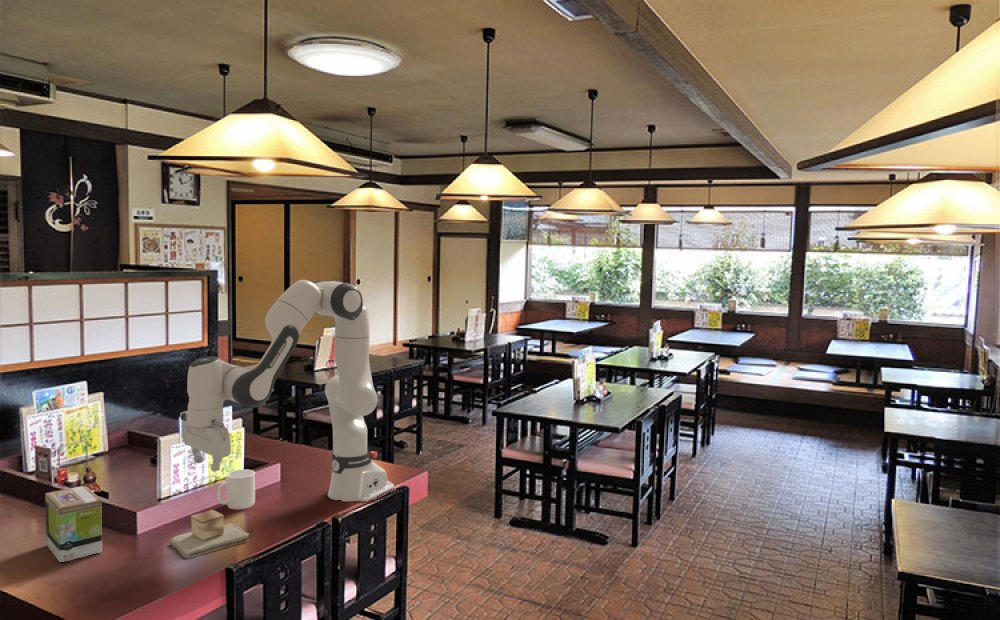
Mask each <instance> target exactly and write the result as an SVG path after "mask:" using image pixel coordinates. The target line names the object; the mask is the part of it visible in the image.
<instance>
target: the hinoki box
mask: <svg viewBox="0 0 1000 620" xmlns="http://www.w3.org/2000/svg"><path fill="white" fill-rule="evenodd" d="M224 518H225V515H224V514H222V513H220V512H218V511H216V510H214V509H210V510H207V511H203V512H199V513H196V514H193V515H190V521H191V532H192V534H193V535H194V536H196V537H198V538H200V539H201V540H205V539H208V538H211V537H214V536H217V535H220V534H223V533H224V525H225V524H224V523H225V522H224V520H225V519H224Z"/></svg>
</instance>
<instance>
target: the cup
mask: <svg viewBox="0 0 1000 620" xmlns="http://www.w3.org/2000/svg"><path fill="white" fill-rule="evenodd" d="M225 486H226V500H225V499H224V500H223V499H222V497H221V492H222V489H223V487H225ZM216 499H217V502H218V503H219V504H221V505H227V507H228V509H230V510H235V511H237V510H246V509H249V508H251V507H253V506H254V505H255V502H256V472H255V470H252V469H247V468H246V469H242V468H241V469H235V470H232V471H229V472H228V473H226V481H222V482H221V483H219V485H218V486H217V490H216Z"/></svg>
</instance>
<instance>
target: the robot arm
mask: <svg viewBox="0 0 1000 620" xmlns="http://www.w3.org/2000/svg"><path fill="white" fill-rule="evenodd" d="M363 300H364V299H363V294H362V293H361V291H360V289H359V288H358V287H356V286H355V285H354V284H351V283H349V282H341V281H336V280H331V281H322V280H318V281H313V282H312V281H311V280H307V279H299V280H297V281H295V282H294V283H293V284H291V285H290V286H289V287H288V288H287V289H286V290H285V291H284V292H283V293H282V294H281V295H280V296H279V297H278V298H277V299H276V300H275V302H274V303H273V304H272V306H271V307H270V308H269V309H268V311H267V314H266V316H265V318H264V323H265V327H266V330H267V332H268V333H269V335H270V336H271V342H270V344H269V346H268V348H267V350H266V351H265V353H264V354H263V356H262V357H261V359H260V360H259V361H258V363H257V365H255V366H254V367H252V368H247V367H244V366H241V365H236V364H231V363H229V362H226V361H225V360H222V359H220V357H217V356H203V357H200V358H197V359H195V360H194V361H192V362H191V363H190V364H189V367H188V371H187V383H186V384H187V388H186V391H187V394H188V404H187V410H185V411H182V412H180V413H179V418H180V420H181V421H182V422H181V435H182V436H181V437H182V442H183V443H184V445H186V446H188V447H191V448H190V449H191V453H192V456H193V462H194V463H195V464H202V463H203V459H204V457H203V456H202V453H201V452H203V453H205V454H207V455H210V456H211V458H212V460H213V461H212V463H210V467H211V468H210V470H211V471H213V472H218V471H220V470H221V464H222V460H223V458H226V457H230V455H231V453H232V448H231V446H232V445H231V436H230V432H229V429H228V428H227V427H226V426H225V424H224V403H225V401H227V400H228V401H229V400H230V401H232V402H234V403H237V404H240V406H243V407H246V408H248V409H254V408H258V407H261V406H262V405H264V404H265V403H266V402H267V401H268V400H269V398H270V397H271V395H272V391H273V389H274V386H275V383H276V380H277V378H278V376H279V375H280V373H281V371H282V370H283V368H284V367H285V365H286V363H287V362H288V360H289V358H290V357H291V355H292V354H293V352H294V350H295V348H296V347H297V344H298V342H299V340H300V335H301V334H302V331H303V329H304V328H305V326H306V325H307V324H308V323H309V322H310V321H311V319H312V317H313V316H314V315H320V316H325V317H331V318H333V319H334V322H335V328H334V347H333V349H334V351H333V354H334V355H333V359H334V363H335V365H336V369H337V374H338V375H334V376H332V377H330V378H329V379H328V380H327V382H326V384H325V387H324V394H325V396H326V399H327V402H328V410H329V415H330V419H331V425H332V452H331V462H330V463H331V478H330V479H331V480H330V484H329V488H328V493H327V496H328V498H330V500H334V501H337V500H342V501H341V502H369V500H370V501H371V499H372V500H374V499H375V498H377V496H378V497H379V495H380V496H381V494H382V495H384V494H386V493H388V492H390V491H392V490H394V489H395V485H394V483H393V482H391V481H389V480H388V475H387V472H386V470H385V469H384V468H383V467H381V466H380V465H379V464H377V463H375V462H374V461H372V458H373V459H376V458H377V456H378V452H377V451H373V450H371V451H370V450H368V427H367V424H366V422H365V418H364V416H368V415H370V414H371V413H373V412H374V410H375V409H376V408H377V405H378V401H379V399H378V394H377V392H376V390H375V387H374V382H373V378H372V377H373V376H372V372H371V366H370V321H369V320H370V319H369V313H368V309H367V308H366V306H365V305H364V301H363ZM393 488H394V489H393ZM391 489H392V490H391ZM389 490H390V491H389ZM387 491H388V492H387ZM385 492H386V493H385ZM383 493H384V494H383Z"/></svg>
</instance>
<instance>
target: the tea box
mask: <svg viewBox="0 0 1000 620" xmlns="http://www.w3.org/2000/svg"><path fill="white" fill-rule="evenodd" d="M44 499H45V500H44V502H45V503H44V505H45V506H44V507H45V541H46V546H47V547H48V549H49V550H50V551H51V553H52V554H53V556H54V557H55V558H56V559H57V561H58V562H59V563H60V562H64V561H69V560H72V559H76V558H80V557H84V556H88V555H92V554H96V553H99V554H101V553H103V552H102V551H103V539H102V537H103V529H102V523H103V520H102V518H103V517H102V509H103V507H102V505H103V504H102V499H101V498H100V496H98V495H97V494H96V493H94V491H92V490H91V489H90V488H89V487H88V486H86V485H81V486H76V487H72V488H71V487H70V488H66V489H61V490H54V491H51V492H46V493H45V498H44ZM100 552H101V553H100ZM96 555H97V554H96ZM92 556H93V555H92ZM88 557H89V556H88ZM69 562H70V561H69Z"/></svg>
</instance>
